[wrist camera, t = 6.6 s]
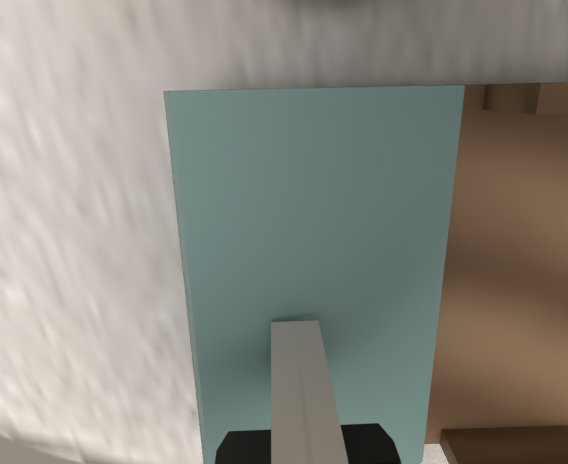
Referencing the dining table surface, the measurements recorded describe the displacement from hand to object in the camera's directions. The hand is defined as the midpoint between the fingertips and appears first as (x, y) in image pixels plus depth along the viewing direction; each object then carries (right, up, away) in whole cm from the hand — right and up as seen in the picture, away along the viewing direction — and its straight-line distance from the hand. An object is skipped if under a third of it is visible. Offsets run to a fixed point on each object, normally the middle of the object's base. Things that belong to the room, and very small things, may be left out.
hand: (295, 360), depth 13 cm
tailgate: (+5, +2, +4) cm, 7 cm away
